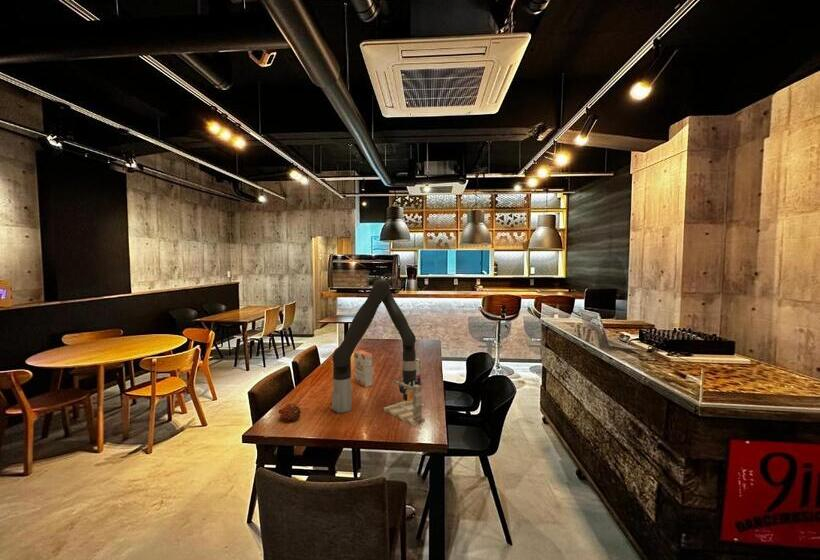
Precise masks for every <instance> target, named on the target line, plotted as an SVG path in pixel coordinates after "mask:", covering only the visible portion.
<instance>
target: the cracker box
mask: <svg viewBox="0 0 820 560" xmlns="http://www.w3.org/2000/svg"><path fill="white" fill-rule="evenodd" d="M353 355H354V356H353V357H354V358H353V359H354V383H356V382H357V383H356V384H358V385H360V386H361V385H362V387H363V388H365V387H366V388H370V387H373V385H374V383H373V382H374V381H373V378H374V377H373V373H374V372H373V354H372V353H371V352H367V351H365V350H363V349H359V350H354V352H353ZM369 386H370V387H369Z"/></svg>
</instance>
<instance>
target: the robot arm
mask: <svg viewBox="0 0 820 560" xmlns="http://www.w3.org/2000/svg"><path fill="white" fill-rule="evenodd" d="M381 303H382V304H384V307H385V308H386V311H387V313H388V315H389V318H390V319H391V322H392V323H393V326H394V327H395V328H396V330H397V331H398V333H399V336H400V338H401V341H402V360H403V363H402V362H401V367H402V368H401V371H402V373H401V374H402V376H403V377H402V381H400V382H401V383H404V384H407V385H409V386H412V387H413V386H414V385H419V383H420V379H421V377H420V378H417V377H416V357H417V355H416V354H417V353H416V350H415V349H416V348H415V347H416V345H415V344H416V341H417V340H416V335H415V333H414V332H413V330H412V328H411V327H410V326H409V323H408V322H409V321H408V320H407V318H406V317H405V314H404V312H403V311H402V309H401V308H400V306H399V305H398V304H397V301H396V300H395V298H394V296H393V293H392V291H391V284H390V282H388V280H387V279H385V278H378V279H376V280H375V281H374V282H373V284H372V286H371V290H370V292H369V294H368V296H367V298H366V300H365V301H364V302H363V304H362V305H361V306H360V308H359V309H358V310H357V312H356V313H355V316H353V318H352V321H351V322H350V325H349V326H348V329H347V331H346V334H345V336H344V338H343V340H342V342H341V343H340V345H339V346H338V347H336V348H335V350H333V354H332V358H331V359H332V363H333V364H332V365H333V370H332V371H333V372H332V376H333V378H332V380H333V391H332V392H331V403H332V405H331V406H332V411H334V412H335V413H336V414H341V413H347V412H350V411H351V410H352V361H351V360H352V356H353V355H354V351H355V349H356V347H357V346H358V344H359V343H360V341H361V340H362V338H363V337H364V335H365V334H366V333H367V331H368V329H369V327H371V324H372V321H373V319H374V318H375V317H376V314H377V311H378V309H379V307H380V305H381ZM398 387H399V388H398V389H399V393H401V394H403V395H402V398H403V401H407V390H409V388H406V387H404V386H401V385H399V384H398ZM405 389H406V390H405Z"/></svg>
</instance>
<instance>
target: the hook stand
mask: <svg viewBox="0 0 820 560" xmlns="http://www.w3.org/2000/svg"><path fill="white" fill-rule="evenodd" d="M401 382H402V381H398V380H397V379H394V380H393V383H394V384H397V385H398V386H399V385H401V386H404V387H406V388H409V389H411V390H413V410H412V411H408V410H406V409H404V408H402V407H399V406H397V405H396V403H393V404H391V405H388V406H385V407H383V411H384V412H385V413H388V414H390V415H392V416H394V417H396V418H397V419H400V420H402V421H403V422H404V423H407V424H409V425H410V426H413V427H415V426H417V425H420V424H423V423H425V421H426V420H425V419H426V418H424V417H422V415H423V414H422V410H423V409H422V407H423V406H422V404H423V403H422V401H423V400H422V385H414V386H413V387H412V386H409V385H407V384H404V383H401Z"/></svg>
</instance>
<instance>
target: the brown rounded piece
mask: <svg viewBox="0 0 820 560" xmlns="http://www.w3.org/2000/svg"><path fill="white" fill-rule="evenodd" d="M284 406H285V407H282V408H281V409H279V410H278V412H277V413H278V414H280V415H279V419H285V422H289V421H295V420H296V419H298V418H300V417H301V413H302V411H301V408H300V406H298V405H297V404H295V403H287V404H286V405H284Z"/></svg>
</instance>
